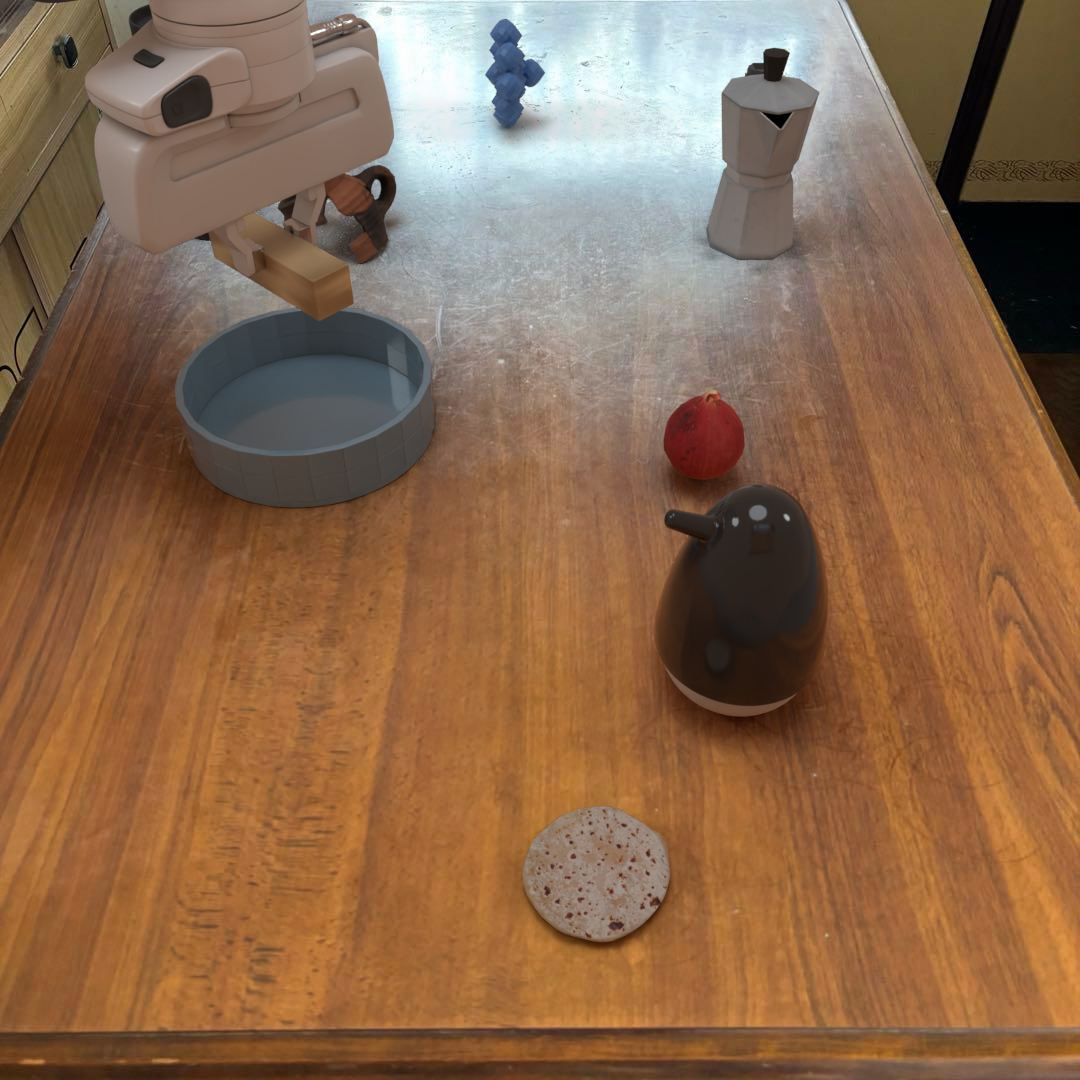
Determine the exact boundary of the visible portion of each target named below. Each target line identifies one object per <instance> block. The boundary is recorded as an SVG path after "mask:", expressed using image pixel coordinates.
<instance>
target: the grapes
mask: <svg viewBox="0 0 1080 1080" xmlns="http://www.w3.org/2000/svg"><path fill="white" fill-rule="evenodd" d="M489 35H490V37H491V38H492V40H493V41H494V42H493V43H492V45H491V46H490V48H489V50H488V51H489V52H490V53H491V55H492V56H493V57H492V59H493V61H494V62H493V63H492V64H491V65H490V66H489V68H488V69H487V71H486V73H485V74H484V76H485V77H486V78H487V80H488V81H489V82H490V83H491V85H493V87H494V89H495V91H496V92H495V95H494V97H493V98H492V100H491V103H492V105H493V106H494V108H493V110H494V112H493V113H492V116H493V117H494V118H495V120H497V122H498V123H499V124H500V125H501V126H503V127H504V128H511V127H514V125H516V123H517V122H518V121H519V119H520V118H521V116H522V115H523V111H524V110H525V107H524V105H522V103H521V99H522V98H523V97H524V95H525V94H526V91H527V88H534V87H535V86H536V85H538V84H539V83H540V81H541V80H542V78H543V77H544V75H545V74H546V72H545V69H543V68H542V66H541V65H540V64H539V62H537V61H536V60H535V59H533V58H527V59H526V60H525V57H526V55H525V53H524V52H523V51H522V50H521V49H520V48H519V47H518V46H519V41H520V40H522V39H521V38H522V37H523V34H522V33H521V32H520V30H519V29H518V27H517V26H516V24H514V23H513V22H512V21H510V20H509V19H508V18H502V19H500V20H498V22H496V24H494V26H493V28H492V30H491V31H490V32H489ZM526 87H527V88H526Z"/></svg>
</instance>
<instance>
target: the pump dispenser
mask: <svg viewBox="0 0 1080 1080" xmlns="http://www.w3.org/2000/svg"><path fill="white" fill-rule="evenodd" d="M663 522H664V526H665V528H667V529H669V530H672V531H675V532H678V533H680V534H682V535H683V534H684V535H685V536H687V537H686V538H685V540H684V542H683V543H682V545H681V547H680V549H679V550H678V553H677V554H676V556H675V558H674V560H673V562H672V564H671V567H670V569H669V571H668V573H667V576H666V578H665V582H664V583H663V587H662V590H661V594H660V597H659V600H658V603H657V607H656V611H655V616H654V617H655V618H654V626H653V638H654V639H653V641H654V645H655V648H656V651H657V655H658V656H659V658H660V660H661V662H662V664H663V665H664V668H665V670H666V672H667V674H668V676H669V677H670V680H672V682H673V683H674V685H675V686H676V687H677V688H678V690H679V691H680V692H681V693H682V694H683V695H685V696H686V697H687V698H688V699H689V700H690V701H692V703H695V704H696V705H698V706H700V707H701V708H704V709H706V710H708V711H711V712H713V713H716V714H719V715H724V716H729V717H753V716H759V715H762V714H766V713H769V712H771V711H774V710H776V709H778V708H780V707H782V706H783V705H785V704H786V703H788V702H789V701H790V700H792V699H793V698H795V696H796V695H797V694H798V693H800V692H801V691H802V690H804V689H805V688H806V687H807V686H808V685H809V684H810V683H811V682H812V680H813V679H814V678H816V677H815V676H816V675H817V674H818V671H819V669H820V667H821V664H822V662H823V659H824V655H825V651H826V645H827V639H828V626H829V614H830V613H829V611H830V608H829V607H830V606H829V605H830V603H829V602H830V600H829V599H830V598H829V597H830V596H829V584H828V577H827V570H826V564H825V560H824V556H823V551H822V549H821V545H820V542H819V538H818V535H817V531H816V530H815V527H814V525H813V523H812V521H811V518H810V516H809V515H808V513H807V511H806V509H805V508H804V507H803V505H802V504H801V503H800V502H799V500H798V499H797V498H796V497H795V496H793V495H792V494H791V493H789V492H788V491H786V490H785V489H782V488H780V487H779V486H776V485H772V484H768V483H749V484H744V485H740V486H738V487H735V488H733V489H732V490H730V491H728V492H727V493H726V494H724V495H722V496H721V497H720V498H719V499H717V500H716V501H715V502H714V503H713V504H712V505H711V506H710V507H709V508H708V509H707V510H706V512H704V513H703V514H701V513H696V512H690V511H685V510H680V509H674V508H671V509H668V510H667V511H666V513H665V514H664V519H663Z"/></svg>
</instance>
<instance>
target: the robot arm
mask: <svg viewBox="0 0 1080 1080" xmlns="http://www.w3.org/2000/svg"><path fill="white" fill-rule="evenodd" d="M31 1H32V2H36V3H43V4H59V3H60V4H61V3H68V2H70V3H71V2H76V1H78V0H31ZM147 1H148V4H149V5H150V9H151V13H152V17H153V19H151V20H150V21H148V22H147V23H146V24H145V25H144V26H143V27H142V28H141V29H140V30H139V31H138V32H137V33H136V34H134V35H133V36H132V35H131V37H130V38H129V39H127V40H126V41H125V42H124V43H122V44H121V45H120V46H119V47H117V48H115V50H113V51H111V53H110V54H108V55H107V56H105V57H104V58H103V59H102V60H100V61H98V63H96V64H95V65H94V66H92V67H91V68H90V69H89V70H88V71H87V73H86V75H85V76H84V77H85V78H84V87H85V90H86V93H87V96H88V99H89V100H90V102H91V103H92V104H93V105H94V107H96V108H97V109H99V110H100V111H101V112H103V113H104V115H103V116H102V118H100V120H99V122H98V124H97V126H96V130H95V134H94V139H93V141H94V143H93V144H94V145H93V146H94V155H95V164H96V168H97V174H98V179H99V185H100V189H101V194H102V198H103V202H104V206H105V209H106V212H107V216H108V218H109V222H110V224H111V226H112V228H113V230H114V231H115V232H116V233H117V234H118V236H120V237H121V238H122V239H124V240H125V241H126V242H129V243H130V244H131V245H132V246H135V247H136V248H138V249H141V250H142V251H145V252H147V253H149V254H151V255H158V254H162V253H164V252H166V251H169V250H170V249H172V248H175V247H178V246H180V245H182V244H184V243H187V242H189V241H192V240H193V239H197V238H196V237H198V236H201V235H203V234H205V233H208V232H210V231H213V232H214V233H215V234H216V235H217V236H218V237H219V238H220V239H221V240H223V241H224V242H225V243H226V244H227V245H228V246H229V247H230V249H231V253H232V258H233V262H234V265H235V268H236V269H237V270H238V271H239V272H241V273H242V274H244V275H245V276H244V275H243V276H244V277H246V276H247V277H249V276H251V275H253V274H255V273H257V272H259V271H262V270H264V269H266V261H265V260H264V258H265V256H264V253H265V252H264V247H263V246H261V245H259V244H258V243H254V241H252V240H251V239H249V238H246V239H244V240H243V239H242V238H241V236H240V235H239V234H238V232H239V233H240V232H242V231H244V230H245V225H244V220H243V217H245V216H247V215H249V214H252V213H254V212H255V213H257V212H259V211H260V210H263V209H265V208H268V207H271V206H273V205H275V204H277V203H280V202H281V201H282V200H284V199H286V198H288V197H291V196H293V195H295V194H297V195H296V200H295V204H294V209H293V214H292V218H290V219H288V220H286V221H284V220H283V221H282V226H283V227H282V228H284V229H285V230H287V231H289V232H291V233H293V234H294V235H296V236H298V237H300V238H302V239H304V240H305V241H307V242H309V243H311V244H313V245H314V246H316V245H318V244H319V237H318V230H317V225H316V224H315V223H316V222H317V220H318V217H319V214H320V211H321V208H322V205H323V202H324V199H325V196H326V192H325V185H324V182H325V181H328V180H330V179H332V178H335V177H337V176H339V175H342V174H344V173H345V174H347V173H349V172H351V171H353V170H356V169H358V168H361V167H362V166H365V165H367V164H369V163H371V162H374V161H376V160H379V159H381V158H383V157H385V156H387V155H388V154H389V151H390V149H391V147H392V145H393V142H394V138H395V129H394V128H395V127H394V122H393V116H392V115H393V114H392V110H391V105H390V101H389V95H388V92H387V87H386V83H385V79H384V76H383V73H382V70H381V67H380V65H379V62H380V56H379V55H380V54H379V44H378V37H377V33H376V31H375V29H374V28H373V27H372V25H371V24H370V22H368V21H367V20H365V19H364V18H360V17H357V16H356V15H355V14H354V13H345V14H340V15H338V16H336V17H334V18H333V19H331V20H327V21H323V22H319V23H314V24H311V25H310V18H309V11H308V4H307V3H308V2H307V0H147ZM239 272H238V273H239ZM241 273H240V274H241ZM242 274H241V275H242ZM247 277H246V278H247Z"/></svg>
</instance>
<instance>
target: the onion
mask: <svg viewBox="0 0 1080 1080" xmlns="http://www.w3.org/2000/svg"><path fill="white" fill-rule="evenodd" d="M662 440H663V451H664V454H665V455H666V456H667V459H668V460H669V462H670V464H671V466H672V468H674V469H675V470H677V471H678V472H679V473H681V474H683V475H684V476H685V477H687V478H692V479H695V480H700V481H704V480H710V479H714V478H718V477H720V476H723V475H725V474H726V473H727V472H729V471H731V470H732V469H733V468H734V467H735V466H736V464H737V463H738V462H739V460H740V459H741V457H742V455H743V452H744V449H745V446H746V445H745V443H746V441H745V440H746V439H745V428H744V425H743V422H742V420H741V418H740V416H739V414H738V413H737V412H736V410H735V409H734V408H733V407H732V406H731V405H730V404H729V403H727V402H726V401H724V400H723V399H722V395H721V392H720V391H719V390H718V389H714V388H710V389H708V391H705V392H704V393H703V394H702V395H697V396H694V397H692V398H690V399H688V400H686V401H685V402H682V403H681V404H680V405H679V406H678V407H677V408H676V409H675V410H674V411H673V412H672V414H671V415H670V416H669V418H668V420H667V421H666V425H665V430H664V434H663V439H662Z"/></svg>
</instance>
